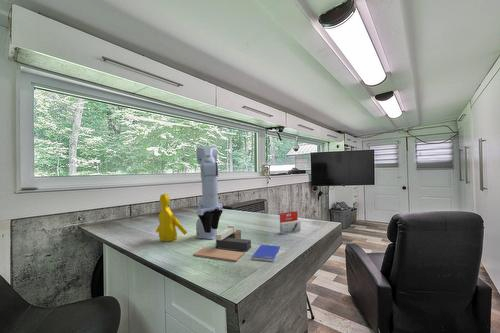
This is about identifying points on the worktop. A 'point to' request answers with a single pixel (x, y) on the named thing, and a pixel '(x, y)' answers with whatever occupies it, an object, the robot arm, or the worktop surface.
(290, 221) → the ink cartridge box
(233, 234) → the block
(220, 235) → the strap
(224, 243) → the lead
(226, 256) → the mat
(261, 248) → the hard drive
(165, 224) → the figure statuette
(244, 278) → the worktop surface
